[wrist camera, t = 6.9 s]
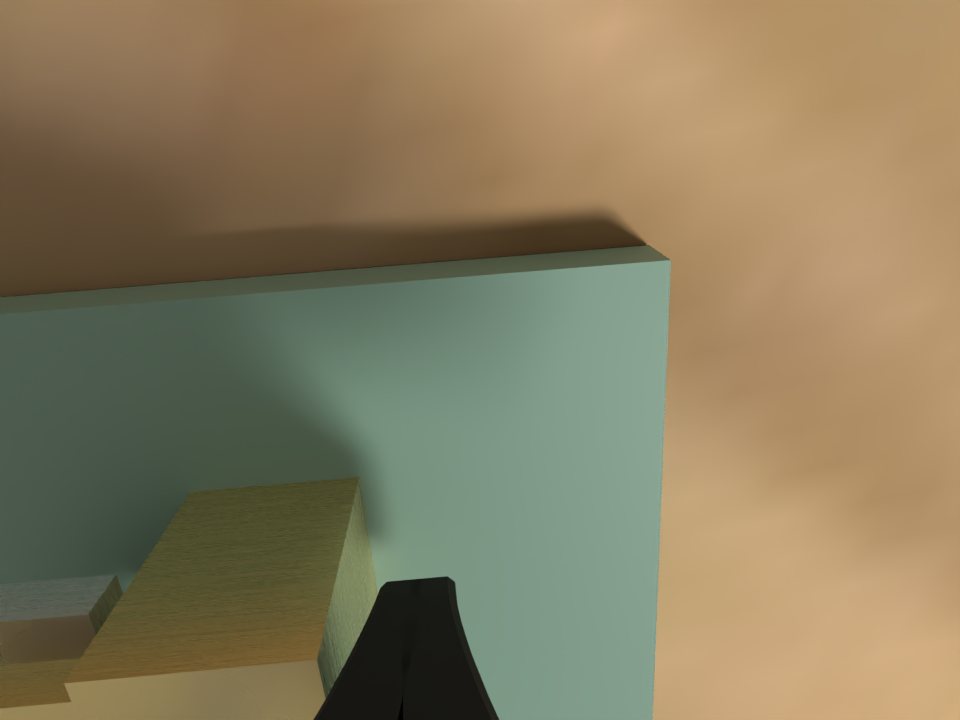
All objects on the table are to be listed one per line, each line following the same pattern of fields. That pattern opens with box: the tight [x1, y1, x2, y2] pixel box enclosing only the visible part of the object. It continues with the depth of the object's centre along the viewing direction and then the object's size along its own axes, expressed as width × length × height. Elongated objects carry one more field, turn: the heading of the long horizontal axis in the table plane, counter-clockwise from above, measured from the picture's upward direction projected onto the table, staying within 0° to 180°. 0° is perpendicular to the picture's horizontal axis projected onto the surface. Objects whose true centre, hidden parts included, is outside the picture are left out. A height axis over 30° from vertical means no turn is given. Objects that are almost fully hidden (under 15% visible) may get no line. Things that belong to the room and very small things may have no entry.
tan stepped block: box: [0, 477, 378, 720], centre depth 10 cm, size 3×6×4 cm, turn 94°
